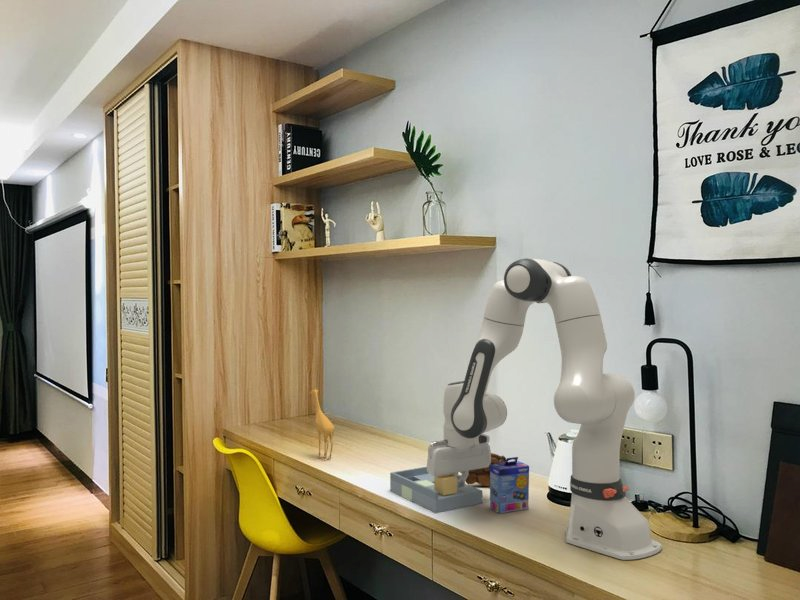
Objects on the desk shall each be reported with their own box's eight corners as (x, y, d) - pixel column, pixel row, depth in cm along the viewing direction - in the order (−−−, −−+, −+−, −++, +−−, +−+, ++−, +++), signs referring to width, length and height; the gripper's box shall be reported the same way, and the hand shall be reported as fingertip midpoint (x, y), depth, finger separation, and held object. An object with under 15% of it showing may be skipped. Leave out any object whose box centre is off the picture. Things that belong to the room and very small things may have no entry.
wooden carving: (464, 489, 200) (464, 456, 200) (460, 485, 205) (460, 453, 205) (516, 487, 203) (516, 454, 203) (512, 482, 207) (511, 451, 207)
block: (456, 493, 184) (456, 477, 184) (443, 496, 182) (443, 479, 182) (447, 489, 188) (447, 473, 188) (434, 492, 186) (434, 475, 186)
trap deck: (482, 502, 187) (482, 483, 187) (435, 512, 179) (435, 492, 179) (434, 482, 208) (434, 465, 208) (390, 490, 199) (390, 472, 199)
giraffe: (305, 454, 246) (305, 387, 246) (316, 452, 249) (315, 386, 249) (327, 463, 233) (326, 392, 233) (338, 461, 236) (337, 390, 235)
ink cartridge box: (499, 514, 177) (499, 460, 177) (488, 508, 182) (488, 455, 182) (530, 509, 181) (530, 456, 181) (519, 503, 186) (518, 452, 186)
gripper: (434, 444, 179) (435, 495, 179) (494, 436, 190) (494, 484, 190) (422, 440, 185) (422, 489, 185) (480, 432, 195) (480, 479, 195)
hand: (459, 486), depth 187 cm, fingers closed
